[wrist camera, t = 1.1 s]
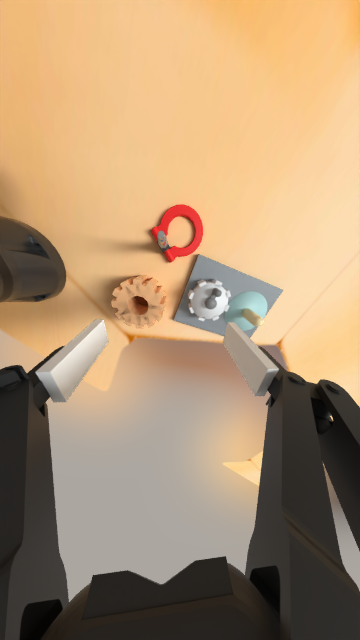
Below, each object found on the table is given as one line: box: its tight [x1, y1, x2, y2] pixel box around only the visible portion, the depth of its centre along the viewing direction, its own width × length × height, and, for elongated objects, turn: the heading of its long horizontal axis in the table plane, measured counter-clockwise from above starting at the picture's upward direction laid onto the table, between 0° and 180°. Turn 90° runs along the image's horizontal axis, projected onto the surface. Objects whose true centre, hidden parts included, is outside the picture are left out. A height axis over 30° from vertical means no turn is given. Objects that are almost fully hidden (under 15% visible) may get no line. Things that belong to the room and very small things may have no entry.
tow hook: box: [151, 205, 203, 262], centre depth 20 cm, size 8×13×9 cm
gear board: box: [174, 254, 283, 338], centre depth 30 cm, size 22×16×7 cm
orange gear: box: [111, 275, 166, 329], centre depth 29 cm, size 10×10×6 cm
